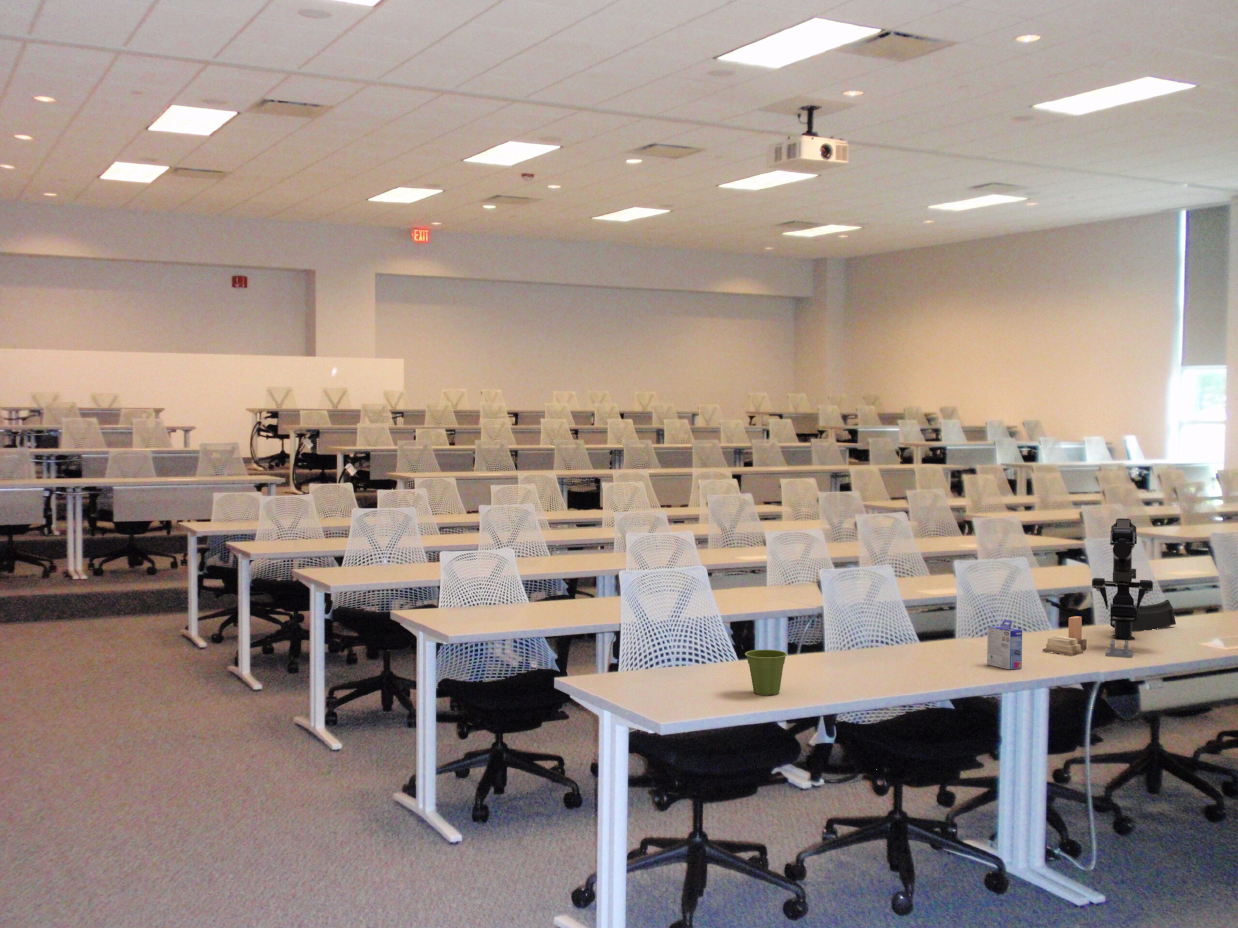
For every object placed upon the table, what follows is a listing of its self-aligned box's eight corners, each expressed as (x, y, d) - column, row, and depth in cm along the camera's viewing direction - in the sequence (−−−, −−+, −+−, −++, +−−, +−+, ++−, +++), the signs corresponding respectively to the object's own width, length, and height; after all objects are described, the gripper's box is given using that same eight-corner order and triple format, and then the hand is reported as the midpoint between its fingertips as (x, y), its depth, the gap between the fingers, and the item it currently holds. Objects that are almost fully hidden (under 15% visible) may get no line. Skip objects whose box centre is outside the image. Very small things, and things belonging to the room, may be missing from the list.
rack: (1065, 646, 390) (1065, 633, 390) (1093, 650, 383) (1093, 636, 383) (1042, 651, 381) (1042, 638, 381) (1071, 655, 373) (1071, 641, 373)
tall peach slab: (1076, 648, 387) (1076, 616, 387) (1081, 649, 385) (1081, 616, 385) (1068, 650, 384) (1068, 617, 383) (1074, 650, 382) (1074, 618, 382)
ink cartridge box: (1023, 668, 353) (1023, 622, 353) (1010, 670, 350) (1010, 623, 350) (999, 663, 362) (999, 617, 361) (986, 664, 359) (986, 619, 359)
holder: (1106, 650, 382) (1107, 638, 382) (1133, 652, 379) (1133, 640, 379) (1105, 655, 373) (1105, 643, 373) (1132, 657, 370) (1132, 645, 370)
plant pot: (744, 688, 326) (744, 649, 326) (786, 688, 325) (786, 649, 325) (745, 697, 315) (745, 656, 314) (788, 698, 314) (788, 657, 313)
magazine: (1173, 602, 433) (1118, 583, 421) (1180, 603, 430) (1125, 584, 418) (1164, 646, 431) (1108, 628, 419) (1171, 647, 428) (1115, 630, 416)
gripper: (1091, 558, 382) (1091, 604, 378) (1153, 560, 374) (1153, 607, 371) (1092, 564, 392) (1092, 609, 388) (1152, 566, 384) (1152, 612, 380)
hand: (1122, 609), depth 382 cm, fingers open, 9 cm apart
